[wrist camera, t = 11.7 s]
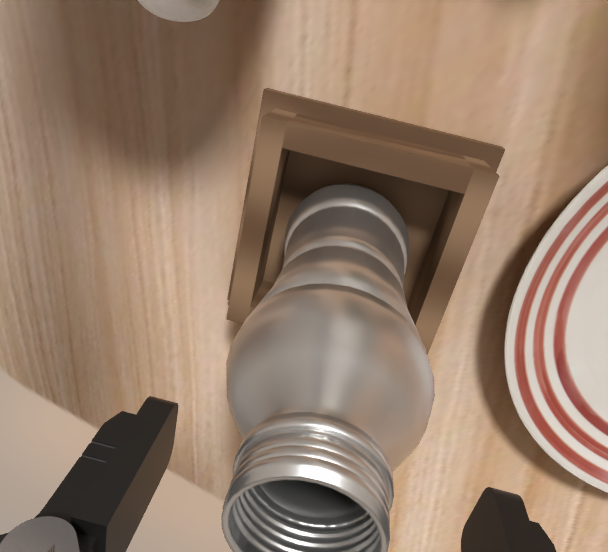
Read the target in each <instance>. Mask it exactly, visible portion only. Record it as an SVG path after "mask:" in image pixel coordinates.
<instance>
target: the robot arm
mask: <svg viewBox="0 0 608 552" xmlns="http://www.w3.org/2000/svg"><path fill="white" fill-rule="evenodd" d="M177 414H178V403H174V402H170V401H167V400H163V399H159V398H155V397H151V396H149V397H148V398H147V399H146V401H145V402H144V404H143V405H142V407H141V408H140V410H139V411H138V413H137V415H135V414H131V413H127V412H124V411H122V412H120V413H119V414H117V415H116V416H114V417H113V418H111V419H110V420H108V421H107V422H105V423H104V424H103V425H102V427H101V428H100V430H99V431H98V432H97V434H96V435H95V437H94V438H93V439H92V442H91V443H90V444H89V445H88V446H87V448H86V449H85V451H84V452H83V454H82V456H81V457H80V458H79V459H78V460H77V462H76V463H75V465H74V466H73V467H72V469H71V470H70V472H69V473H68V475H67V476H66V477H65V479H64V480H63V481H62V483H61V484H60V486H59V487H58V488H57V490H56V491H55V493H54V494H53V496H52V497H51V498H50V500H49V501H48V503H47V504H46V505H45V507H44V508H43V509H42V511H41V512H40V513H39V514H38V515H37V516H36V517H35V518H34V519H31V520H28V521H26V522H24V523H22V524H20V525H19V526H17V527H15V528H14V529H13V530H12V531H10V532H9V533H6V534H3V535H0V552H126V550H127V548H128V546H129V544H130V542H131V540H132V537H133V535H134V533H135V531H136V529H137V527H138V525H139V523H140V521H141V519H142V517H143V515H144V513H145V511H146V509H147V507H148V505H149V503H150V501H151V499H152V497H153V495H154V493H155V491H156V489H157V487H158V485H159V483H160V480H161V478H162V476H163V474H164V472H165V470H166V468H167V465H168V463H169V460H170V457H171V453H172V449H173V444H174V436H175V429H176V421H177ZM461 552H556V550H555V547H554V544H553V543H552V542H551V540H550V539H549V537H548V536H547V534H546V533H545V532H544V530H543V529H542V527H541V526H540V525H539V523H536V522H532V521H529V518H528V515H527V512H526V509H525V506H524V502H523V500H522V498H521V497H520V496H519V495H517V494H513V493H509V492H506V491H502V490H498V489H494V488H490V487H487V488H486V489H485V490H484V491H483V493H482V495H481V497H480V498H479V500H478V502H477V504H476V506H475V507H474V509H473V511H472V513H471V515H470V516H469V518H468V520H467V522H466V524H465V526H464V529H463V532H462V538H461Z"/></svg>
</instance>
